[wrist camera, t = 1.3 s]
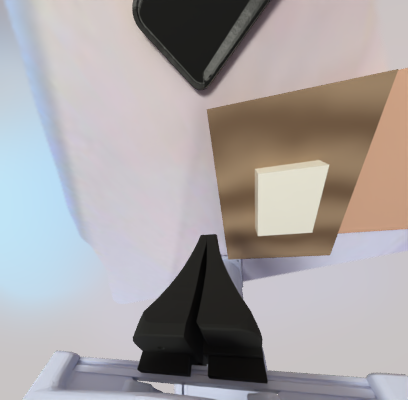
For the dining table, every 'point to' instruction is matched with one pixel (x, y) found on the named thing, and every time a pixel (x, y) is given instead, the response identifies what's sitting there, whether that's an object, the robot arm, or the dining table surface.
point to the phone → (197, 32)
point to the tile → (288, 197)
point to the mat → (384, 170)
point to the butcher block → (294, 157)
